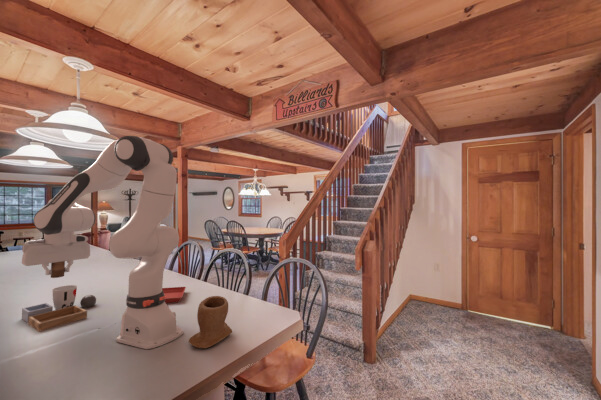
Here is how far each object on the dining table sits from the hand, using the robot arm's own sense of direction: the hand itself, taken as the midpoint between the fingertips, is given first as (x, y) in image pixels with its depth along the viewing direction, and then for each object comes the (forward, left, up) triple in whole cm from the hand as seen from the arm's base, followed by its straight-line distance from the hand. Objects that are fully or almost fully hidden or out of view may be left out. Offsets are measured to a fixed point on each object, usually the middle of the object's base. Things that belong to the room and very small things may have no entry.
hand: (57, 273), depth 105 cm
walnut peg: (0, 0, -1) cm, 1 cm away
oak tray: (-1, -1, -19) cm, 19 cm away
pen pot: (+9, +3, -19) cm, 22 cm away
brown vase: (-64, -24, -20) cm, 71 cm away
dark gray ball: (+7, -14, -19) cm, 25 cm away
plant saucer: (-10, -40, -20) cm, 45 cm away
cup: (+12, -7, -20) cm, 24 cm away
